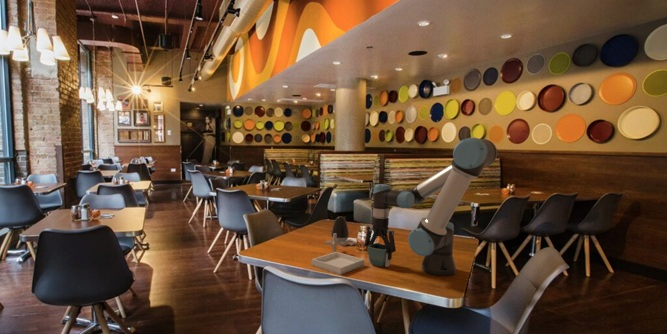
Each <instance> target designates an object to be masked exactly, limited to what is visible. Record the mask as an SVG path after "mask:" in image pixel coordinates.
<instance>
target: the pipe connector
mask: <svg viewBox="0 0 667 334" xmlns="http://www.w3.org/2000/svg"><path fill="white" fill-rule="evenodd" d="M324 244H325V245H330V247H331V248H332V253H333V252H337V246H345V242H338V240H337V234H336V233H334V234H333V239H332V240H325V241H324Z"/></svg>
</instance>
